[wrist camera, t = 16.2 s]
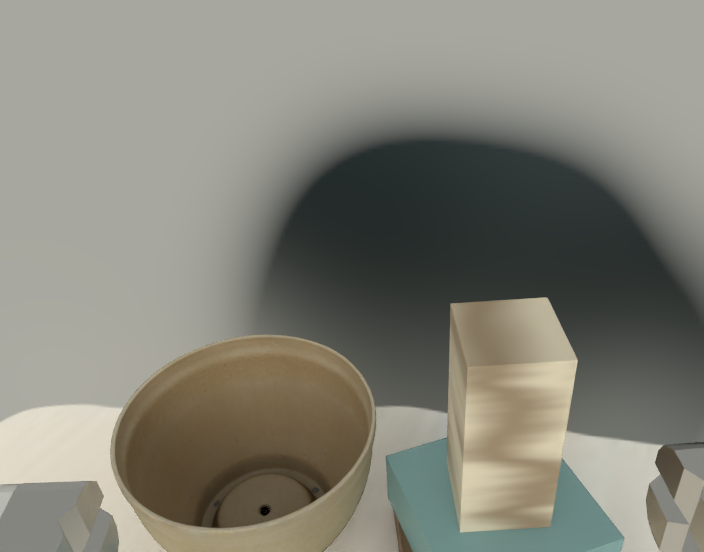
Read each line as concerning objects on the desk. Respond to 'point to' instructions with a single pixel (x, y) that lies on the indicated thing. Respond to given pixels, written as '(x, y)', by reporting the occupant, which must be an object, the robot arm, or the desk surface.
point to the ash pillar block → (507, 412)
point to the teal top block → (497, 545)
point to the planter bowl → (247, 446)
